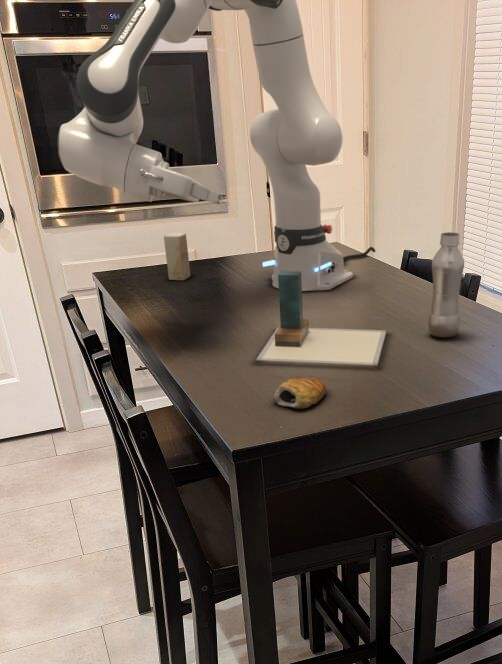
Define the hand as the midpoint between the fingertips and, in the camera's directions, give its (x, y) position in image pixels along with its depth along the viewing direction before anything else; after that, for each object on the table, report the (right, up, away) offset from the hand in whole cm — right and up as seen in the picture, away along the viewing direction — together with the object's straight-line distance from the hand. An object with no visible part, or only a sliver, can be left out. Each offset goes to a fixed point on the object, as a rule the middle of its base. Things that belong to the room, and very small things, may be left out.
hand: (219, 199), depth 136 cm
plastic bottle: (+44, -23, +12) cm, 51 cm away
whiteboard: (+20, -27, +7) cm, 34 cm away
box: (-19, +2, +54) cm, 57 cm away
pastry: (+16, -41, -15) cm, 46 cm away
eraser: (+13, -24, +10) cm, 29 cm away
